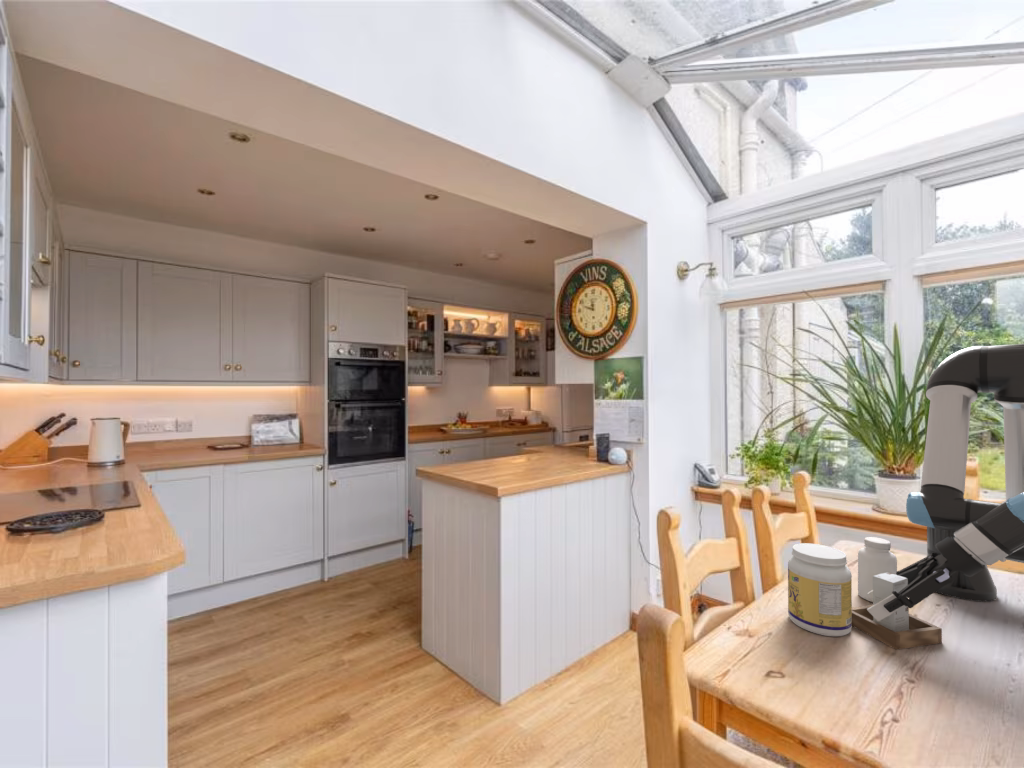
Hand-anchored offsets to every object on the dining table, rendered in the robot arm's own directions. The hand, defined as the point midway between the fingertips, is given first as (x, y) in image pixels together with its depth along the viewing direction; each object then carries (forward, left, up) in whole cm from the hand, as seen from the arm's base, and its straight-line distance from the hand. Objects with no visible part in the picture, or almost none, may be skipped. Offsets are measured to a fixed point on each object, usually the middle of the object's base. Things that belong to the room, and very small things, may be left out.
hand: (872, 606), depth 106 cm
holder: (-2, +2, -5) cm, 6 cm away
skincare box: (-2, +2, -5) cm, 6 cm away
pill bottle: (-15, -12, -5) cm, 20 cm away
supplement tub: (+11, -4, -5) cm, 12 cm away
